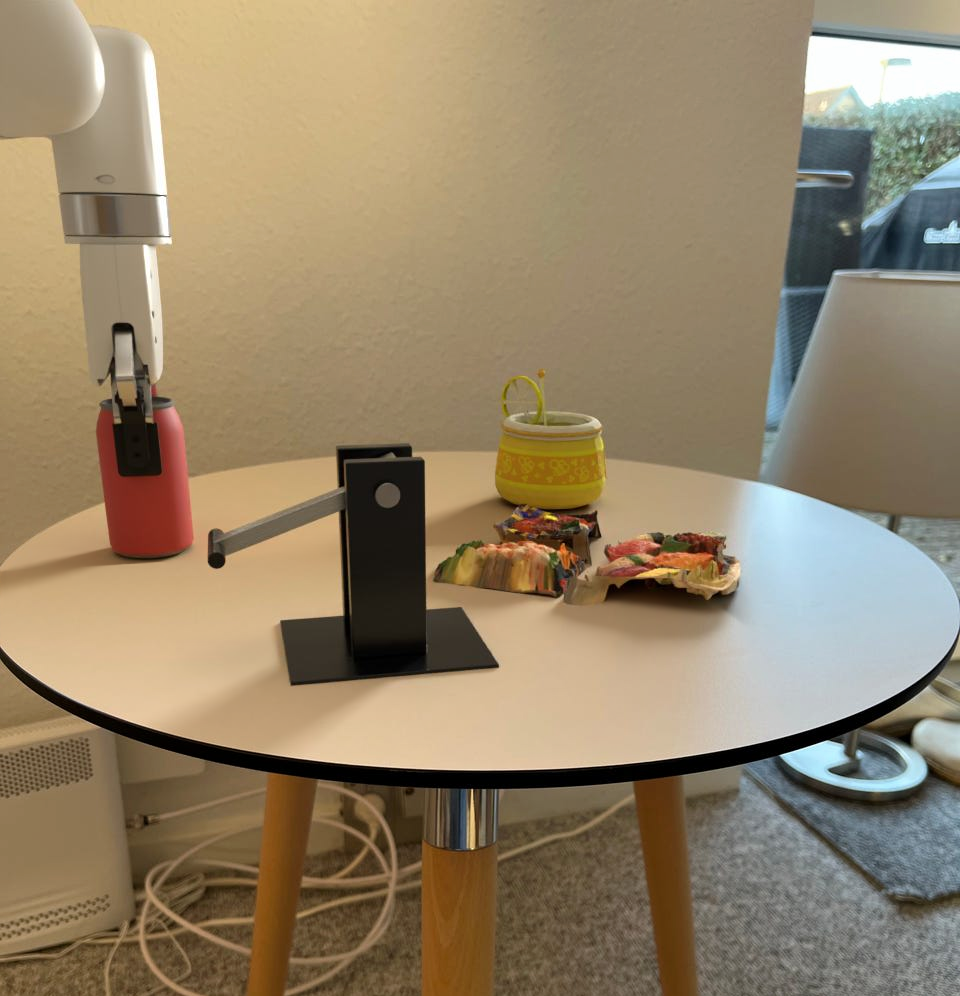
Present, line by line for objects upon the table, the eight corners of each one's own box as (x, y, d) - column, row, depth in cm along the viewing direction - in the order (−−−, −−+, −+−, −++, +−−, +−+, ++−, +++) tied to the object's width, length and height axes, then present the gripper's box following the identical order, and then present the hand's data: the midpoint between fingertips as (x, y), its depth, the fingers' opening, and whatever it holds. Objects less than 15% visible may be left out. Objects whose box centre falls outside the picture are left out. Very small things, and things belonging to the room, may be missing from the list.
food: (756, 561, 82) (761, 519, 81) (722, 642, 66) (727, 590, 64) (500, 532, 89) (501, 492, 88) (412, 598, 73) (411, 550, 72)
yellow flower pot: (618, 513, 96) (627, 383, 91) (504, 516, 94) (507, 384, 90) (585, 482, 108) (591, 366, 103) (483, 485, 106) (484, 367, 102)
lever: (217, 583, 56) (198, 544, 55) (217, 557, 60) (200, 520, 59) (417, 503, 57) (402, 464, 56) (402, 483, 61) (388, 447, 60)
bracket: (291, 701, 57) (277, 476, 52) (281, 637, 66) (267, 439, 61) (499, 682, 60) (503, 466, 55) (461, 623, 69) (462, 432, 64)
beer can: (125, 537, 87) (108, 394, 82) (203, 538, 87) (190, 395, 82) (99, 560, 80) (79, 407, 76) (182, 561, 81) (167, 408, 76)
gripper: (77, 223, 81) (105, 446, 88) (44, 221, 66) (81, 492, 72) (174, 224, 83) (194, 443, 90) (165, 223, 67) (190, 488, 74)
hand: (143, 463), depth 81 cm, fingers closed on beer can, 6 cm apart
